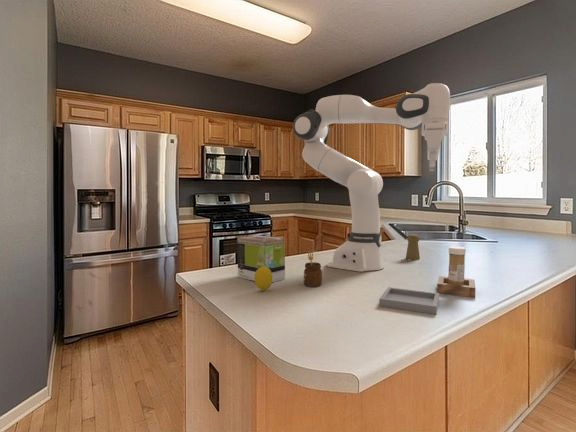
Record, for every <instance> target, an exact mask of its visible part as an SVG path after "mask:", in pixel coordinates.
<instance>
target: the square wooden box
mask: <svg viewBox="0 0 576 432" xmlns="http://www.w3.org/2000/svg"><path fill="white" fill-rule="evenodd" d="M436 293H439V294H443V295H451V296H459V297H468V298H476V282H475V279H472V278H464V285H456V284H448V276H443V275H441V276H440V275H439V276H438V279H437V283H436Z"/></svg>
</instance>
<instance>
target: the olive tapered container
mask: <svg viewBox="0 0 576 432" xmlns="http://www.w3.org/2000/svg"><path fill="white" fill-rule="evenodd" d="M406 241H407V248H406V255H405V259H406V260H408V259H410V260H409V261H419V259H421V257H420V250H419V248H420V247H419V242H420V236H419V235H418V234H415V233H412V234H408V235H407V237H406Z"/></svg>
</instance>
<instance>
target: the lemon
mask: <svg viewBox="0 0 576 432" xmlns="http://www.w3.org/2000/svg"><path fill="white" fill-rule="evenodd" d="M254 280H255V281H254V284H255V286H256V287H257V289H259V290H261V291H262V292H265V291H266V290H267V289H269V288H270V287H271V286H272V284H273V282H272V273H271V271H270V270H269V269H268V268H267V267H265V266H262V267H260V268H259V269H257V271H256V273H255V278H254Z"/></svg>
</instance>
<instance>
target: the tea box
mask: <svg viewBox="0 0 576 432" xmlns="http://www.w3.org/2000/svg"><path fill="white" fill-rule="evenodd" d="M236 240H237V241H236V242H237V277H238V278H240V279H245V280H249V281H254V282H255V280H254V278H255V273H256V271H257V269H259V268H260V267H262V266H265V267H267V268H268V269H269V270H270V271H271V273H272V283H275V282H279V281H282V280H285V279H286V254H285V253H286V252H285V250H286V248H285V247H286V245H285V244H286V243H285V238H284V237H277V236H276V237H275V236H267V235H266V236H265V235H250V236H248V235H247V236H241V237H237V239H236Z"/></svg>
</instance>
